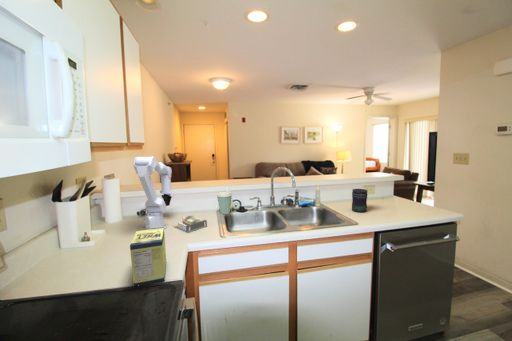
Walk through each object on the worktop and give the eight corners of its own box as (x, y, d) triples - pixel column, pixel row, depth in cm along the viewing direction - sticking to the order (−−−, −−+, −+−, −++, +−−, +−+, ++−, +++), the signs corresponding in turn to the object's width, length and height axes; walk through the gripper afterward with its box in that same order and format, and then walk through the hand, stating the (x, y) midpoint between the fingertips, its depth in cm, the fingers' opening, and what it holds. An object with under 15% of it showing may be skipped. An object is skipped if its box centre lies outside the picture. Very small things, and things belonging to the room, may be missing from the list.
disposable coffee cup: (217, 215, 160) (216, 194, 158) (217, 211, 170) (216, 191, 168) (233, 214, 162) (232, 193, 160) (231, 210, 172) (231, 190, 170)
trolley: (191, 229, 133) (191, 220, 133) (182, 225, 139) (182, 217, 139) (201, 225, 139) (201, 217, 138) (192, 222, 144) (192, 214, 144)
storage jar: (369, 212, 161) (370, 191, 159) (354, 213, 161) (355, 191, 159) (362, 208, 171) (363, 188, 169) (349, 208, 171) (350, 188, 169)
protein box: (166, 261, 100) (164, 226, 98) (165, 281, 85) (162, 241, 83) (139, 265, 97) (136, 229, 95) (133, 288, 82) (129, 245, 80)
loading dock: (187, 234, 130) (187, 226, 130) (172, 227, 142) (171, 219, 141) (206, 227, 140) (206, 220, 139) (190, 221, 151) (190, 214, 151)
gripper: (177, 185, 149) (178, 206, 151) (166, 182, 159) (167, 202, 161) (167, 187, 144) (168, 208, 146) (156, 184, 154) (157, 204, 155)
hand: (167, 205), depth 153 cm, fingers closed
